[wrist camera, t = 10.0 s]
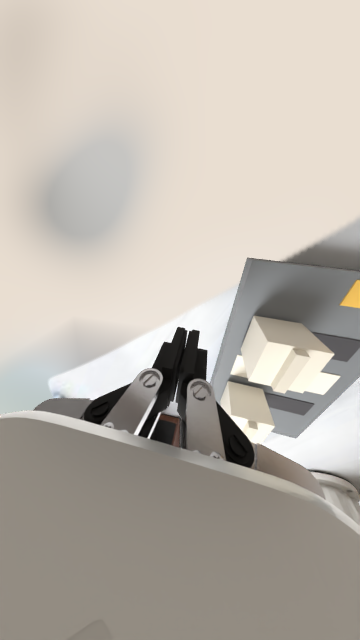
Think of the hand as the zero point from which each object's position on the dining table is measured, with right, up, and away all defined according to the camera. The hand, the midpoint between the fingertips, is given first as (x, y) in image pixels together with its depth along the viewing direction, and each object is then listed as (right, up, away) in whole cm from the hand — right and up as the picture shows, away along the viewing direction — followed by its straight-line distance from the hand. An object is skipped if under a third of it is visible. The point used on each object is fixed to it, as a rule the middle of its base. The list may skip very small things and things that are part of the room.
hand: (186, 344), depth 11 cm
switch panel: (+11, -3, +7) cm, 13 cm away
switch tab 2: (+8, 0, +3) cm, 8 cm away
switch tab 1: (+7, -8, +7) cm, 13 cm away
